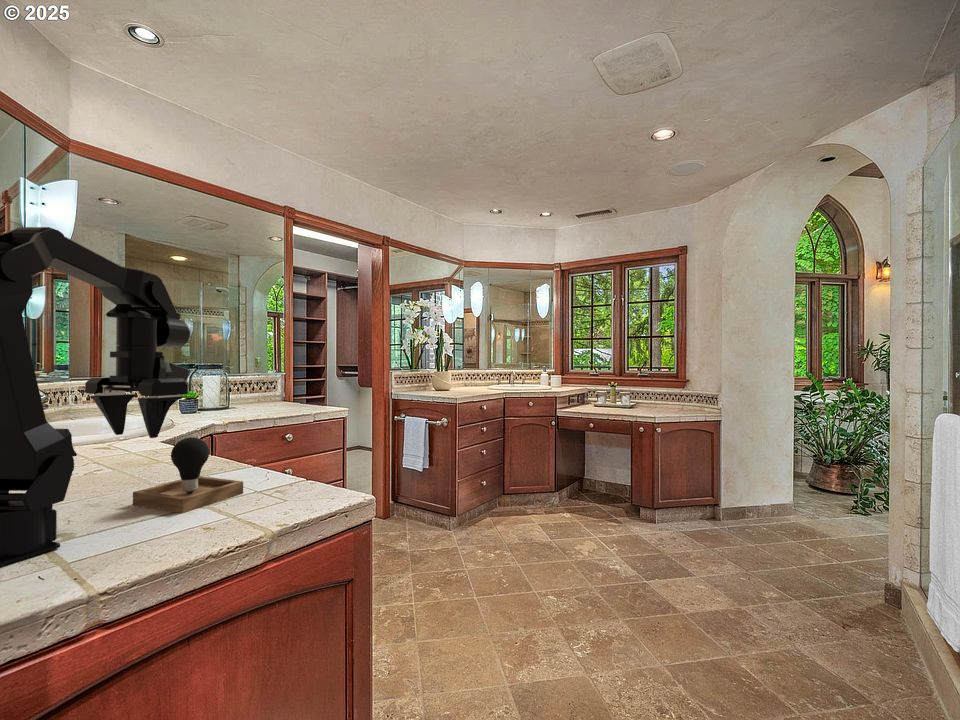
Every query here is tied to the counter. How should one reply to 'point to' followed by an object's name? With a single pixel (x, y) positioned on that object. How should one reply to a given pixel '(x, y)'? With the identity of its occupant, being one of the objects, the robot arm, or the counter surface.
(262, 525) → the counter surface
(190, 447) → the light bulb
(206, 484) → the walnut tray
